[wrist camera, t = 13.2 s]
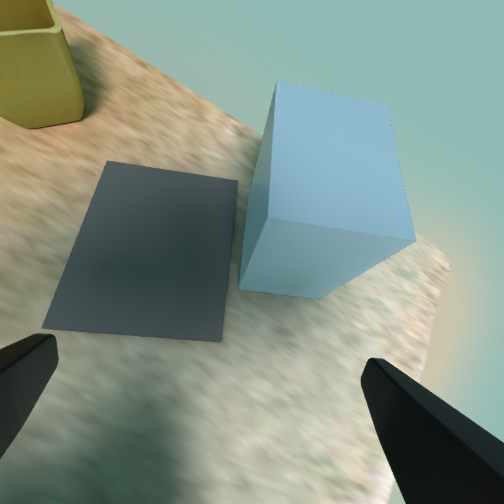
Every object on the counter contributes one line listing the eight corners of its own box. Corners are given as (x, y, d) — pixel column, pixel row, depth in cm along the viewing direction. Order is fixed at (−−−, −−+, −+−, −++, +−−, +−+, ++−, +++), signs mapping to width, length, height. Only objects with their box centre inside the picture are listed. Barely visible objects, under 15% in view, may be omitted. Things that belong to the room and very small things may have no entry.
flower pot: (-5, 88, 27) (-95, -30, 19) (85, 77, 30) (39, -31, 22) (9, 148, 24) (-90, 40, 16) (106, 130, 27) (62, 29, 19)
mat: (221, 342, 20) (221, 341, 20) (44, 328, 19) (41, 328, 18) (237, 183, 27) (237, 180, 27) (108, 163, 25) (107, 160, 25)
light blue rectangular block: (318, 299, 23) (416, 240, 12) (238, 289, 22) (267, 217, 12) (315, 208, 27) (387, 104, 17) (248, 196, 27) (276, 80, 16)
